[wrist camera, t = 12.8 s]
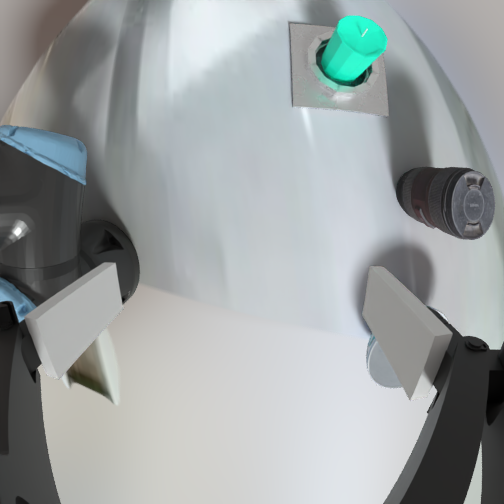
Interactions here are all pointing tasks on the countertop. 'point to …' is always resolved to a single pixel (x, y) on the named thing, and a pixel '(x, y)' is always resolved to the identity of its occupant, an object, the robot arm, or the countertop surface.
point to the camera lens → (448, 200)
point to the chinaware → (382, 364)
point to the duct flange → (323, 86)
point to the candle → (353, 48)
